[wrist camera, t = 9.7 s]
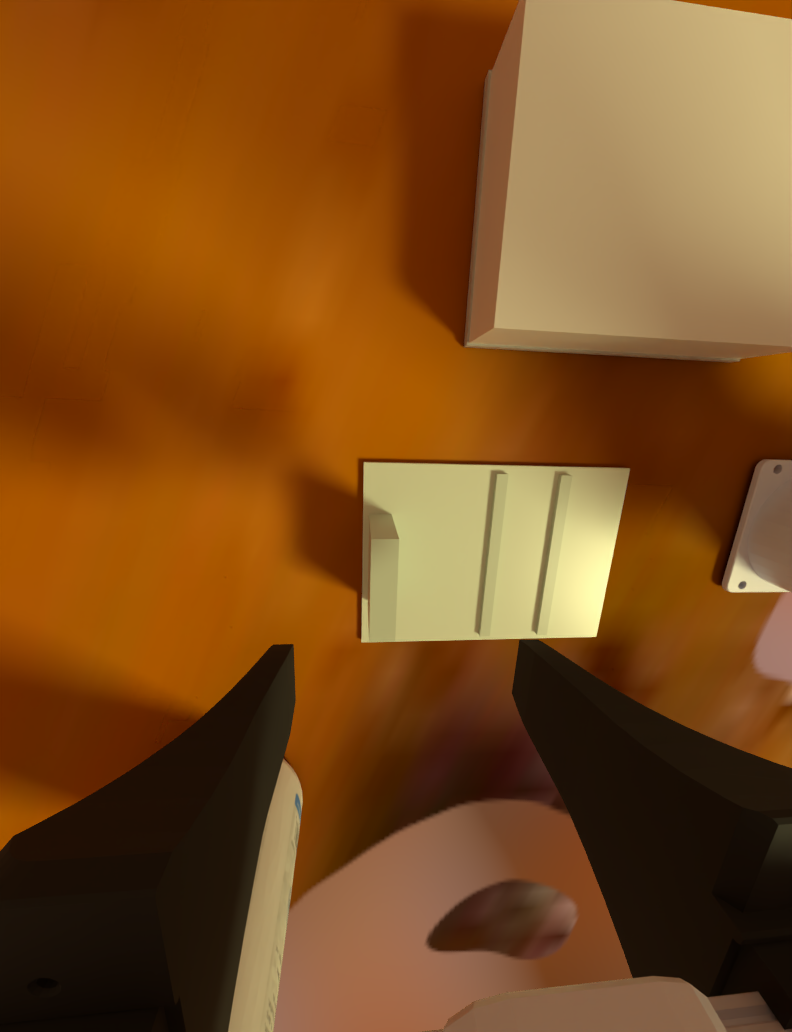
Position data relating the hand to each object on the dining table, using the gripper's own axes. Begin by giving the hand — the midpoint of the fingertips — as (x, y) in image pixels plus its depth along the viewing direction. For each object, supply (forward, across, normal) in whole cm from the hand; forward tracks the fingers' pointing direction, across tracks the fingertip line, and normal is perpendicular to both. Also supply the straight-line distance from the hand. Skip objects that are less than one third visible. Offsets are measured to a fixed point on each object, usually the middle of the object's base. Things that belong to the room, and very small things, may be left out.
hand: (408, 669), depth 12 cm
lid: (+10, -6, 0) cm, 11 cm away
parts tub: (+9, -10, -16) cm, 21 cm away
